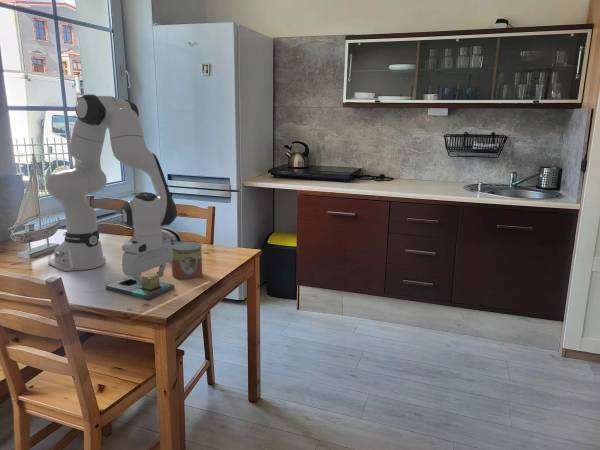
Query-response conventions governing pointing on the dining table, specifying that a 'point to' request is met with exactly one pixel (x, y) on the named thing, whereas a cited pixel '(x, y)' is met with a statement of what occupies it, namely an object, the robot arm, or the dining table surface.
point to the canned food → (187, 260)
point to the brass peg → (150, 282)
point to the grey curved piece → (171, 233)
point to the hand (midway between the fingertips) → (150, 280)
